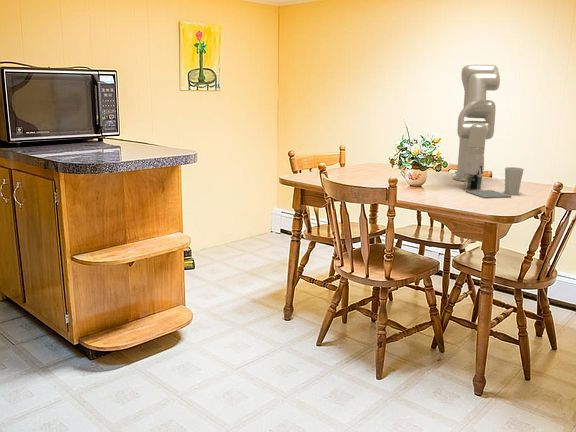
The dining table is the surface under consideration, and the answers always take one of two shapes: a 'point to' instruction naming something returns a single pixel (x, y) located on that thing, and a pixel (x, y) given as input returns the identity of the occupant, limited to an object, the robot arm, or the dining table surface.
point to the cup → (513, 180)
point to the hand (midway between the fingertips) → (472, 188)
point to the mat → (488, 194)
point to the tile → (468, 183)
